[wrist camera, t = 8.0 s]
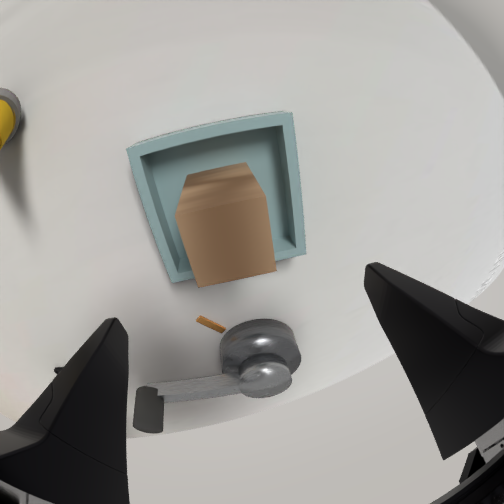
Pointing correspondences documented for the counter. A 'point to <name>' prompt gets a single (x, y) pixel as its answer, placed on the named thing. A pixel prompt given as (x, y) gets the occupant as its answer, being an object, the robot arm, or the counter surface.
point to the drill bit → (8, 115)
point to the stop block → (225, 225)
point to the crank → (211, 389)
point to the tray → (214, 156)
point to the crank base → (255, 343)
